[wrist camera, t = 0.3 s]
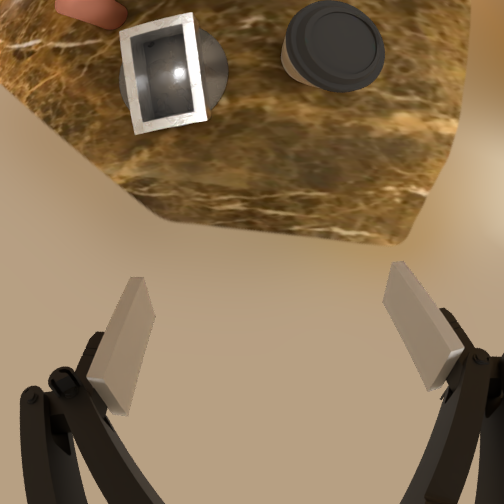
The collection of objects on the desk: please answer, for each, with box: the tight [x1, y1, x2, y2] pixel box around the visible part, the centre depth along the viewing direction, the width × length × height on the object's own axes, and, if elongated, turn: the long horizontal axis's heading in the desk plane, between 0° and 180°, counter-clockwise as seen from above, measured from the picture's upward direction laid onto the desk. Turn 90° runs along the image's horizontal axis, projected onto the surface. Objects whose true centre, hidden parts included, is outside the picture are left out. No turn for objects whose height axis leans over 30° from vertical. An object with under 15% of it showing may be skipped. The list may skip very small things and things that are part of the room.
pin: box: [55, 0, 128, 30], centre depth 22 cm, size 4×4×12 cm
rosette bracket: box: [119, 12, 228, 135], centre depth 30 cm, size 14×14×6 cm
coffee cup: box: [281, 0, 385, 92], centre depth 25 cm, size 9×9×15 cm
